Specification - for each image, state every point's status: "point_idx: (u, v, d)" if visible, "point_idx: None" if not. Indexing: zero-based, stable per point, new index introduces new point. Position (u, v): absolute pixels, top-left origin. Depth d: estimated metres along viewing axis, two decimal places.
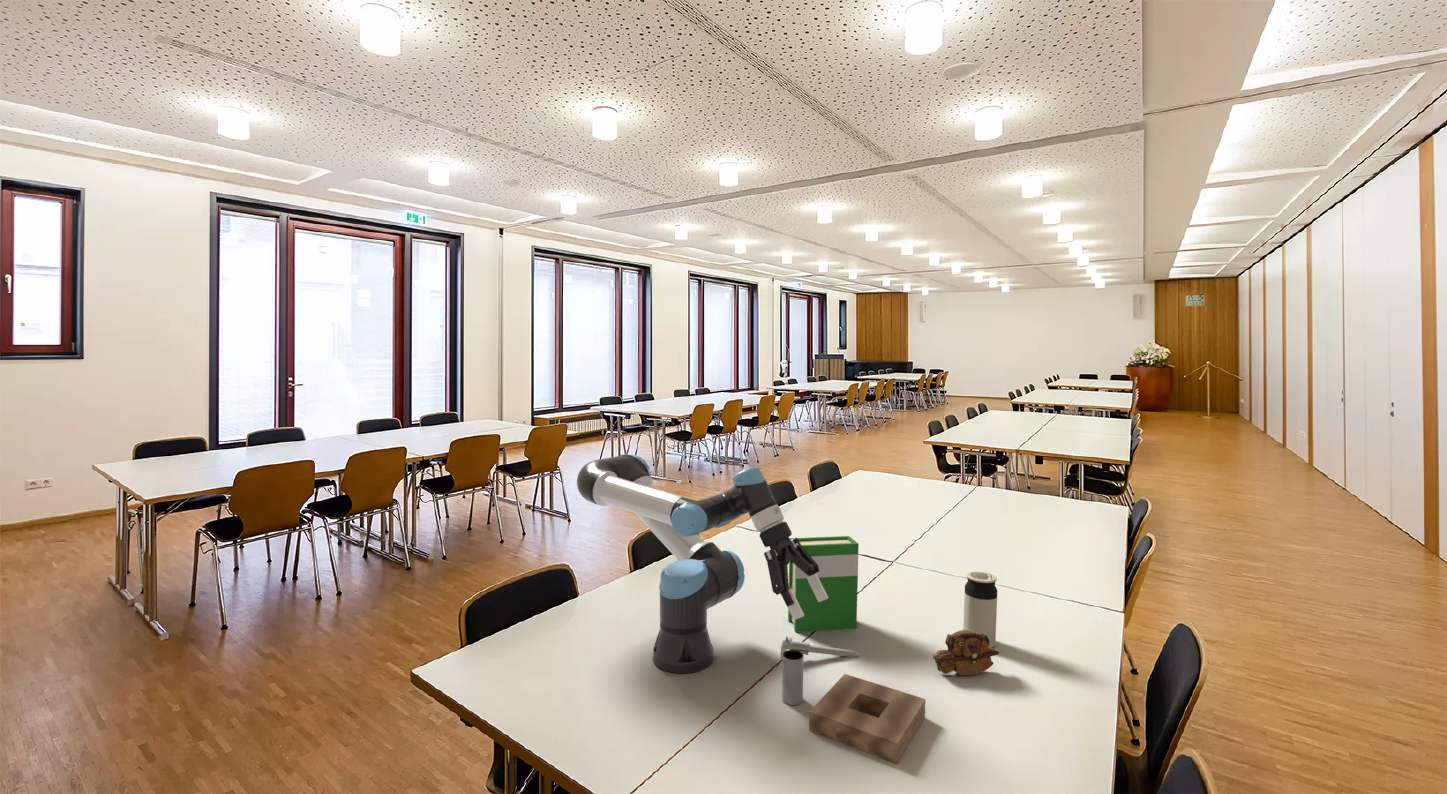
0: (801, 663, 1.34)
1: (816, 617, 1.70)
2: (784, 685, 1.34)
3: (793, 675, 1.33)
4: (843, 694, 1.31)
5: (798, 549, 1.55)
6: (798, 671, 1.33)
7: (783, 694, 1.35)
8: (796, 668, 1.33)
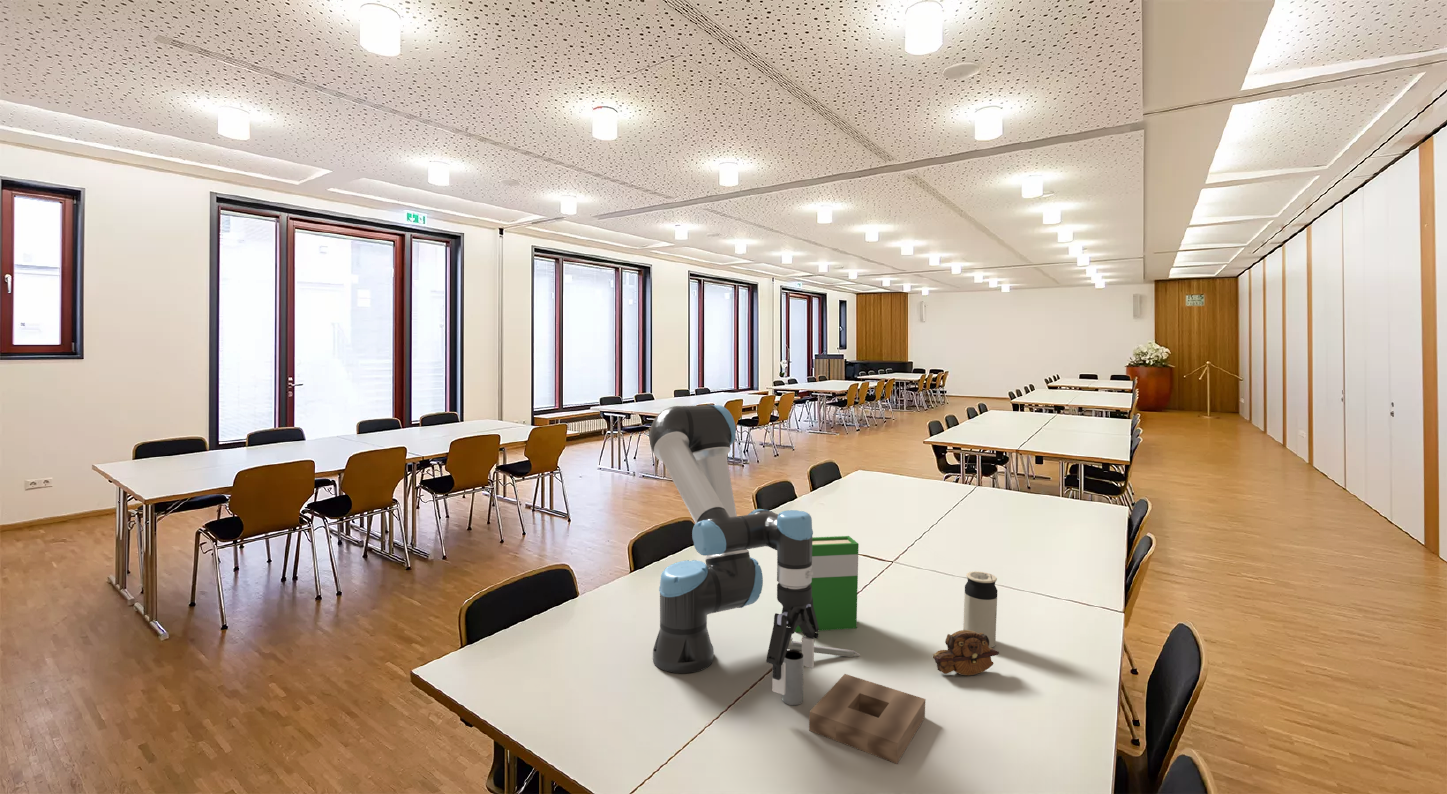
0: (801, 663, 1.34)
1: (816, 617, 1.70)
2: None
3: (793, 675, 1.33)
4: (843, 694, 1.31)
5: (808, 609, 1.39)
6: (798, 671, 1.33)
7: None
8: (796, 668, 1.33)
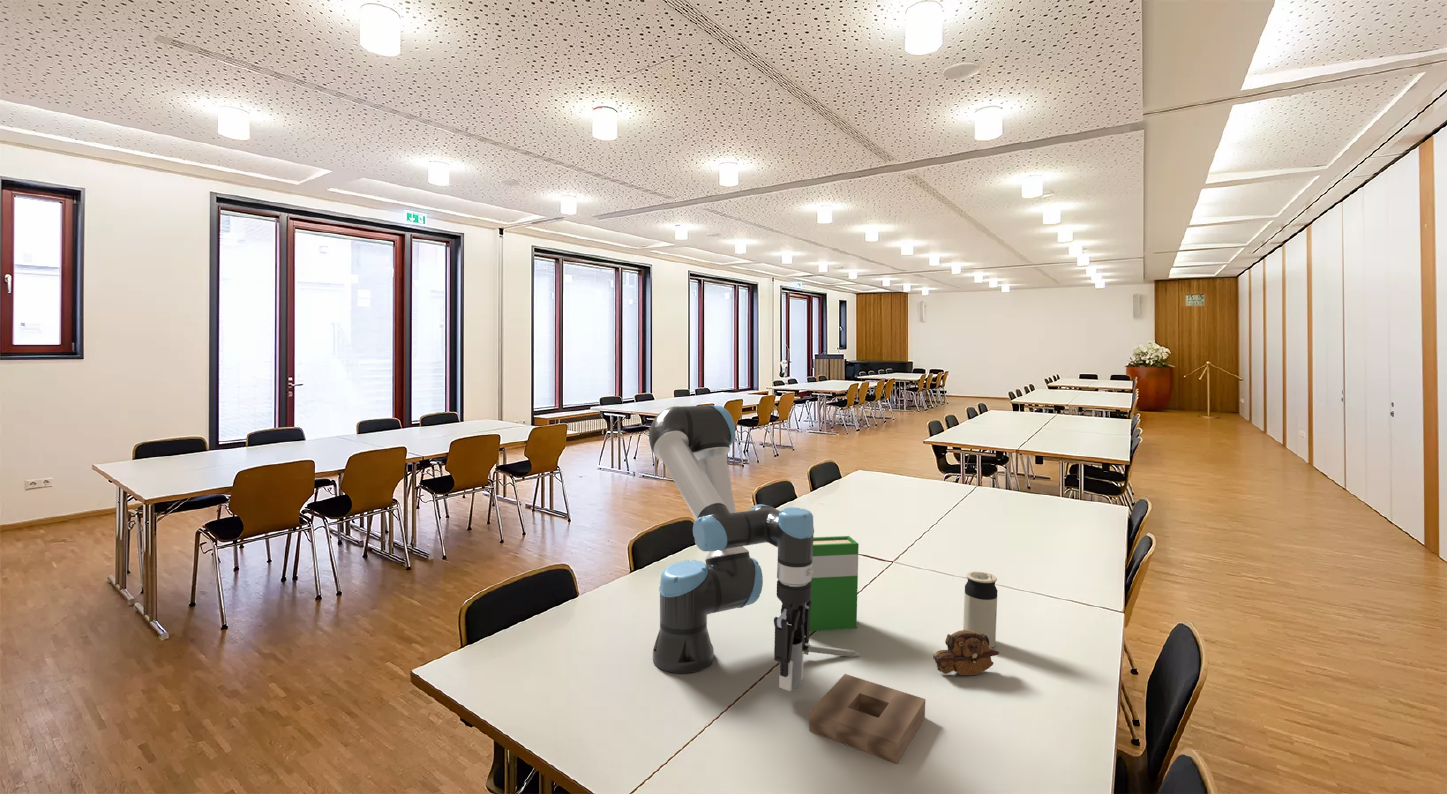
0: (800, 648, 1.34)
1: (816, 617, 1.70)
2: None
3: (792, 660, 1.33)
4: (843, 694, 1.31)
5: (804, 612, 1.39)
6: (797, 656, 1.34)
7: None
8: (795, 653, 1.33)
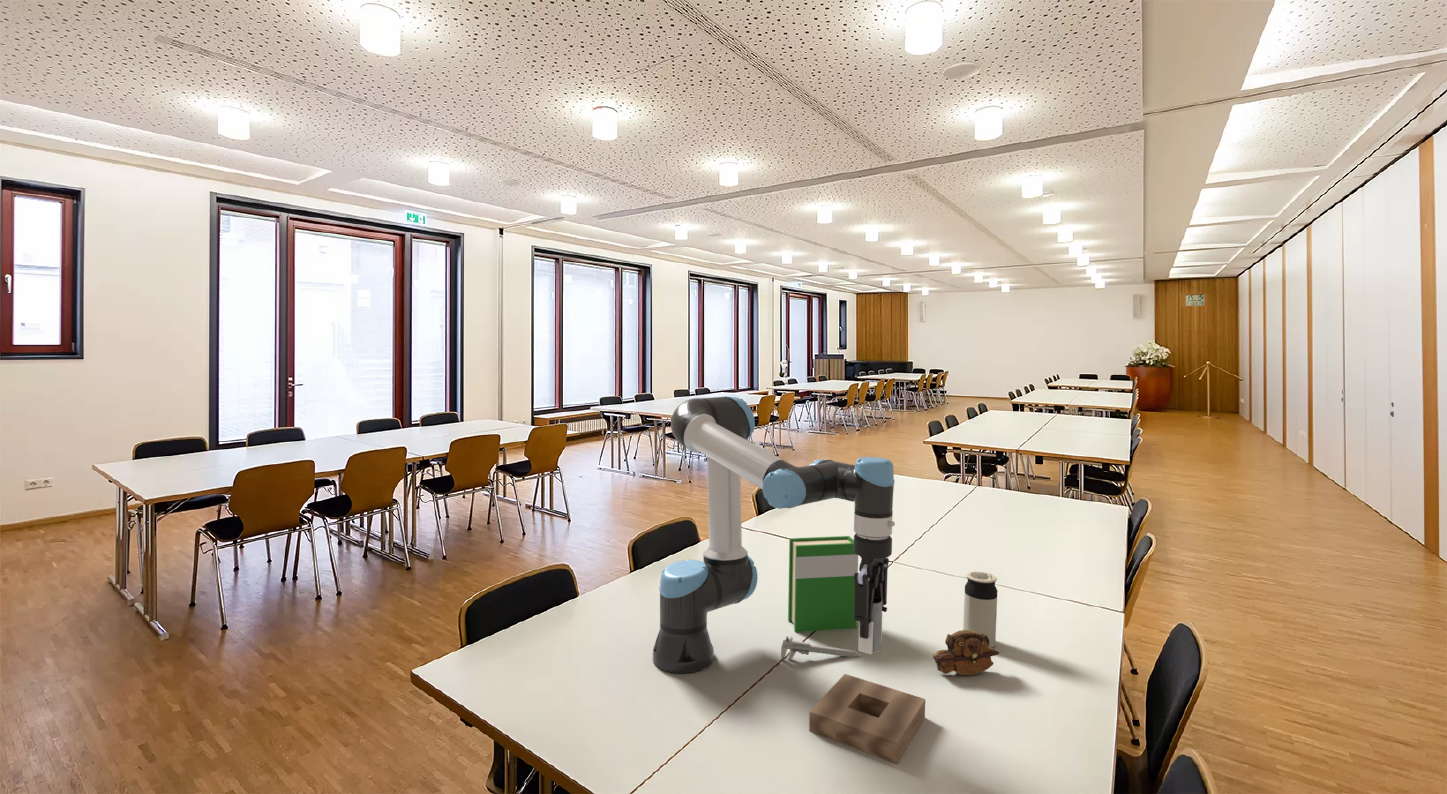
0: (880, 607, 1.24)
1: (816, 617, 1.70)
2: None
3: (872, 620, 1.24)
4: (843, 694, 1.31)
5: None
6: (877, 616, 1.24)
7: None
8: (875, 612, 1.24)
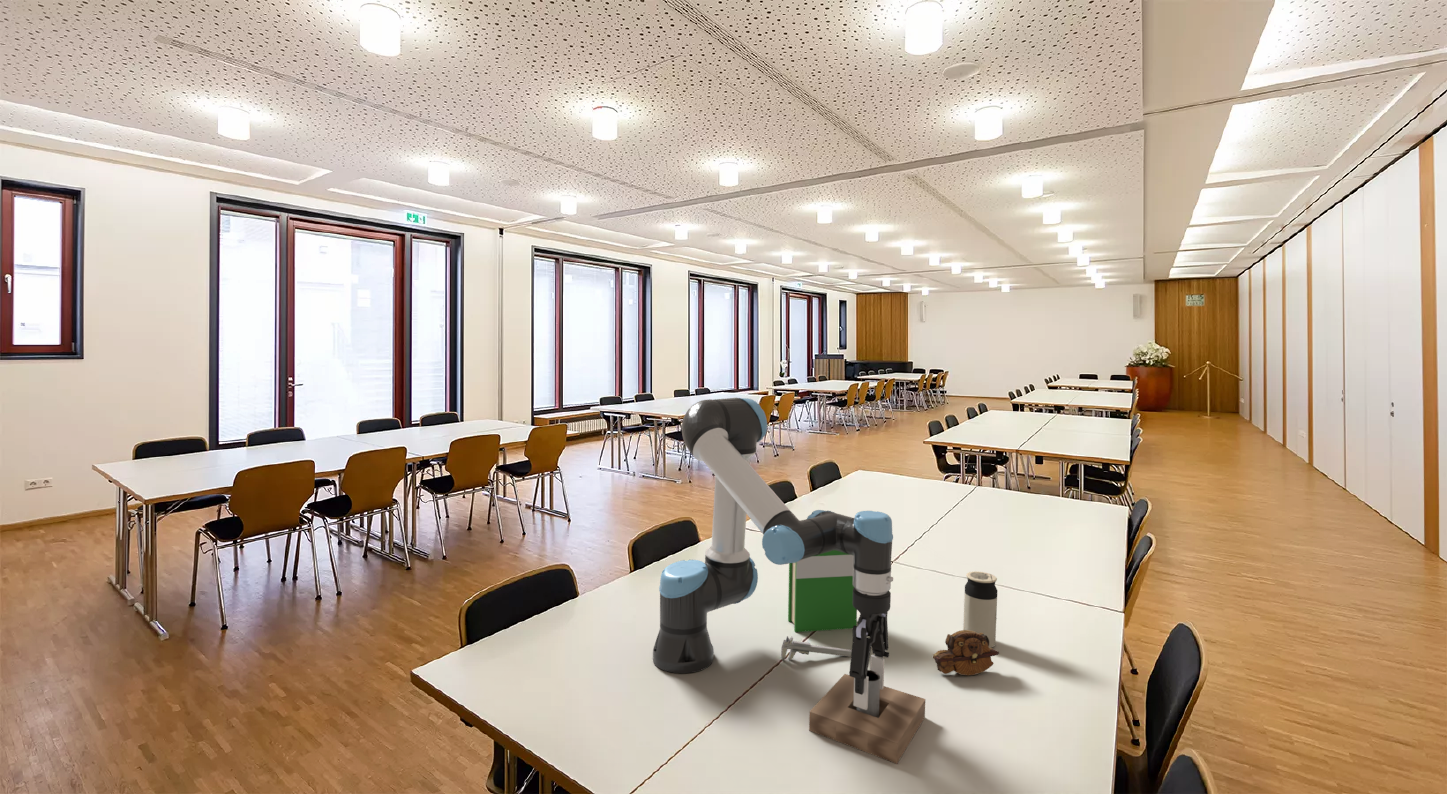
0: (878, 684, 1.25)
1: (816, 617, 1.70)
2: (859, 708, 1.26)
3: (870, 697, 1.25)
4: (843, 694, 1.31)
5: None
6: (875, 693, 1.25)
7: None
8: (873, 690, 1.25)
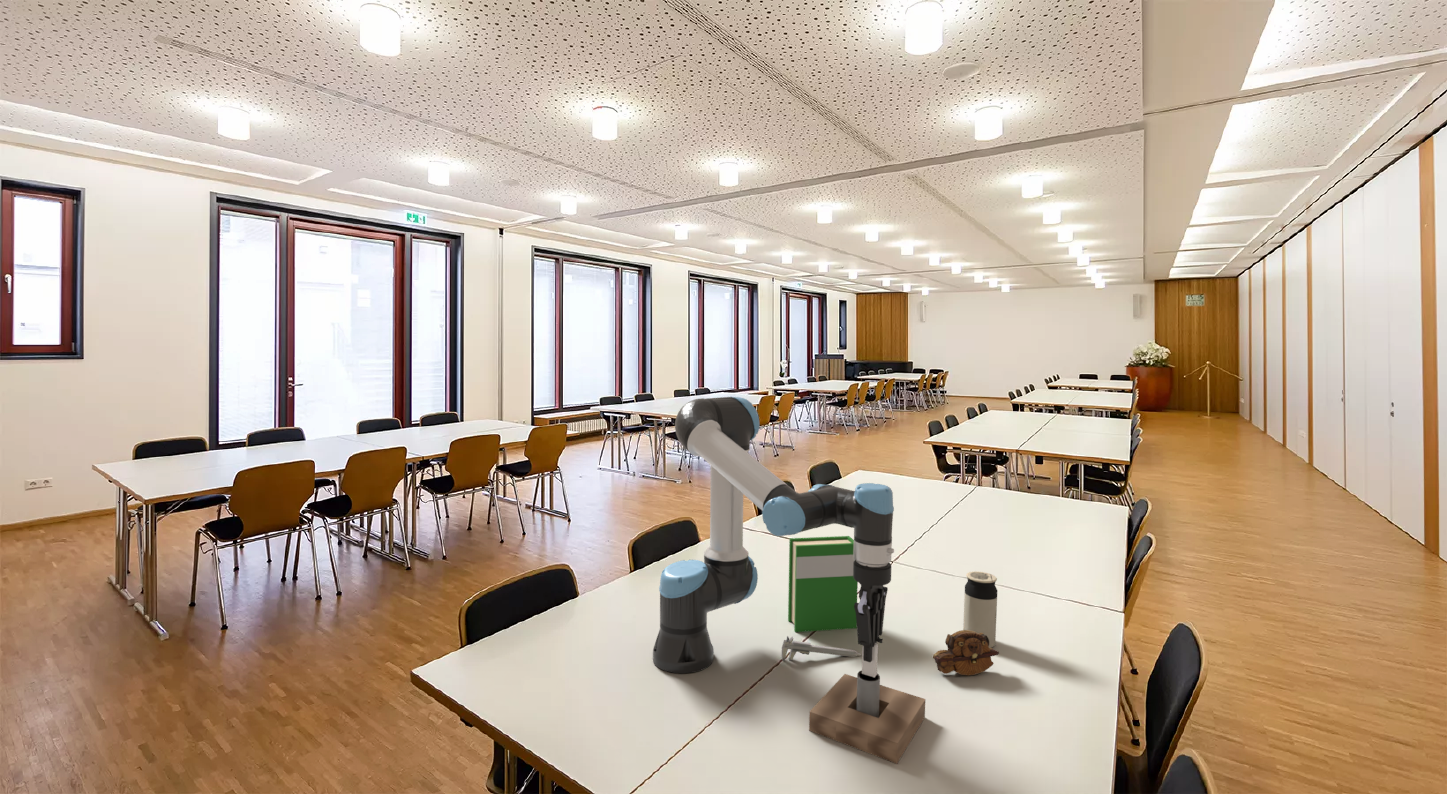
0: (878, 685, 1.25)
1: (816, 617, 1.70)
2: (859, 708, 1.26)
3: (870, 697, 1.25)
4: (843, 694, 1.31)
5: None
6: (875, 693, 1.25)
7: None
8: (873, 690, 1.25)
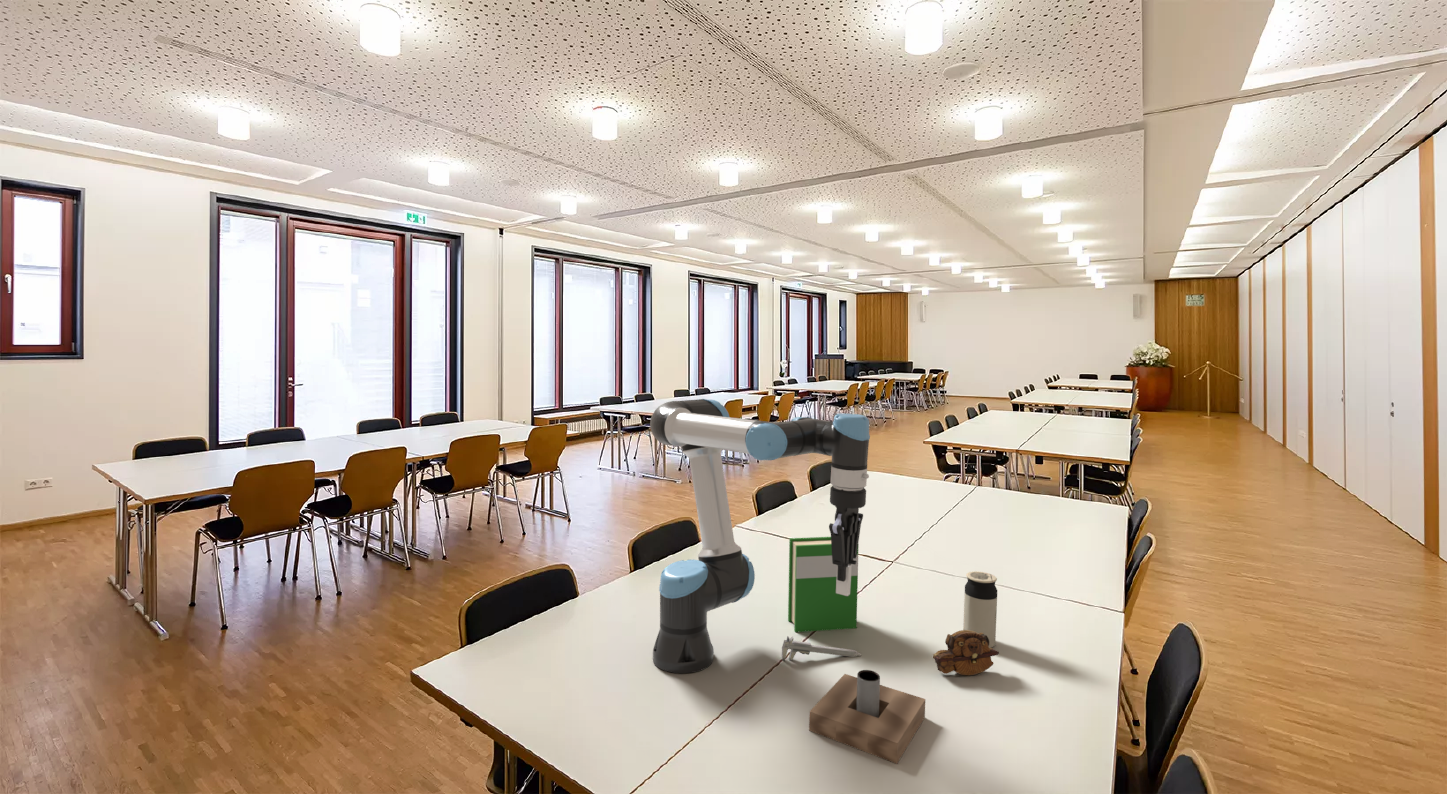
0: (878, 684, 1.25)
1: (816, 617, 1.70)
2: (859, 708, 1.26)
3: (870, 697, 1.25)
4: (843, 694, 1.31)
5: None
6: (875, 693, 1.25)
7: None
8: (873, 690, 1.25)
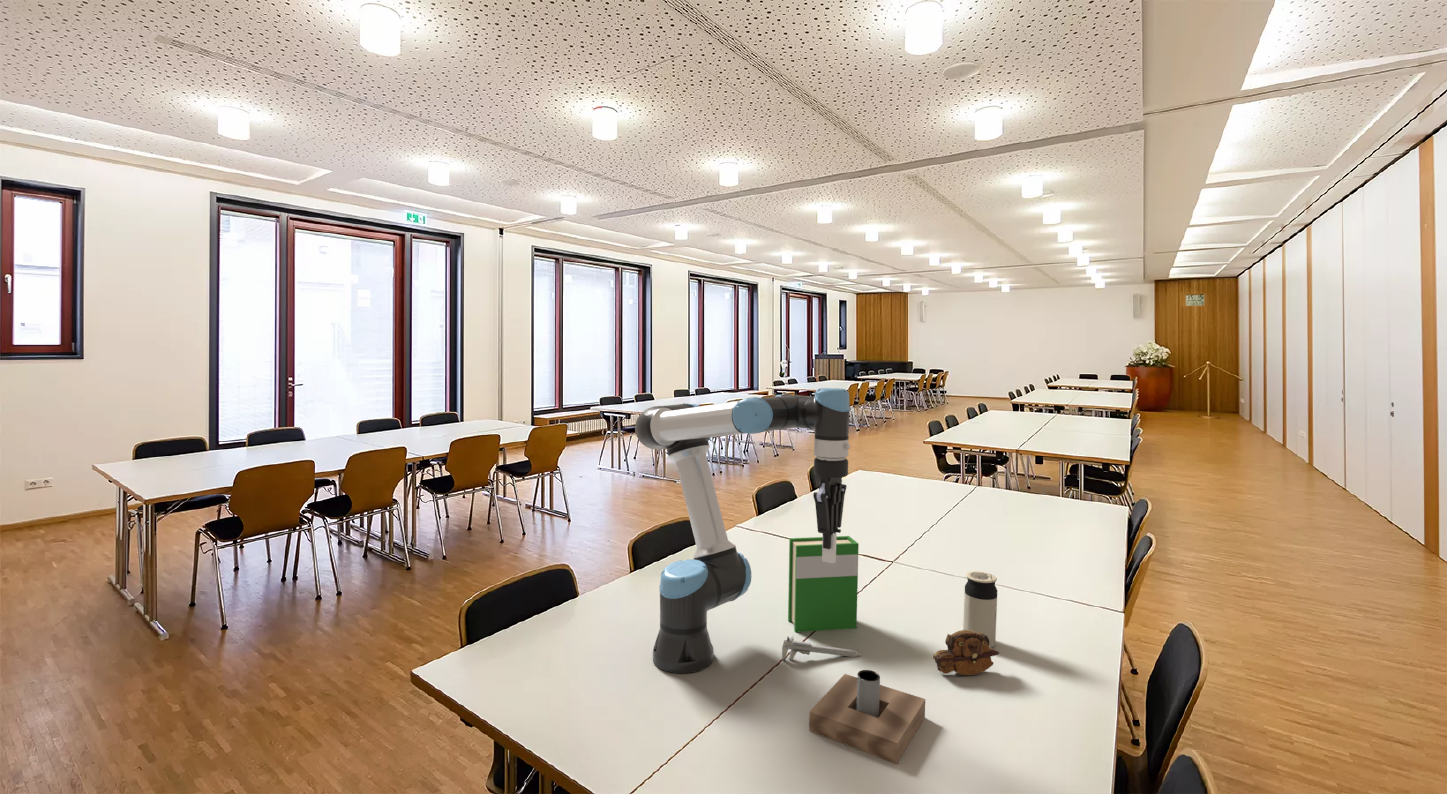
0: (878, 685, 1.25)
1: (816, 617, 1.70)
2: (859, 708, 1.26)
3: (870, 697, 1.25)
4: (843, 694, 1.31)
5: None
6: (875, 693, 1.25)
7: None
8: (873, 690, 1.25)
